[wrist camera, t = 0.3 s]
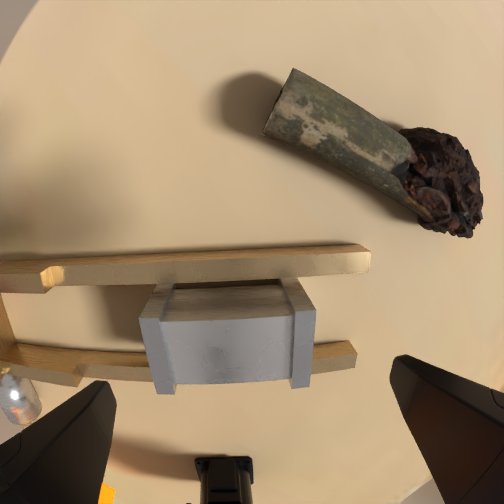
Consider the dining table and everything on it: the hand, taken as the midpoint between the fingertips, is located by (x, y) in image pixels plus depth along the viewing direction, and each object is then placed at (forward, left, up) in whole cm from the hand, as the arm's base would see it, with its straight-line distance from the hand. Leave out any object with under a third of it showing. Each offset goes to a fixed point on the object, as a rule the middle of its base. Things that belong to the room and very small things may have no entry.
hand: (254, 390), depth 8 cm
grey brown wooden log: (+7, -11, -14) cm, 19 cm away
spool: (-5, +1, -14) cm, 15 cm away
